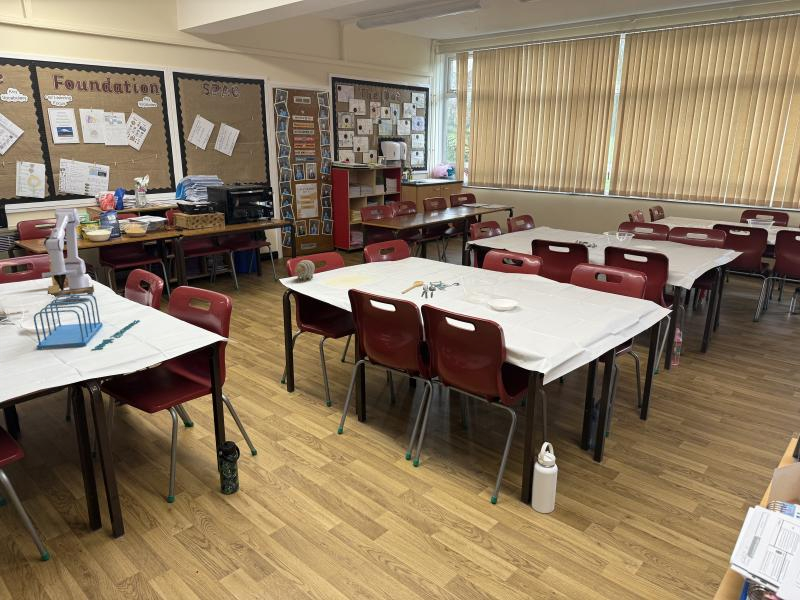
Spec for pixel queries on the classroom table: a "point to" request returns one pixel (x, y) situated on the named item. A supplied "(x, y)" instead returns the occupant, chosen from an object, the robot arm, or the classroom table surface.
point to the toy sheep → (305, 269)
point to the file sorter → (68, 326)
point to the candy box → (60, 279)
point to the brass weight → (53, 289)
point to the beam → (75, 291)
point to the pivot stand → (73, 300)
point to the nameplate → (115, 335)
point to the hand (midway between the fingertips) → (62, 289)
